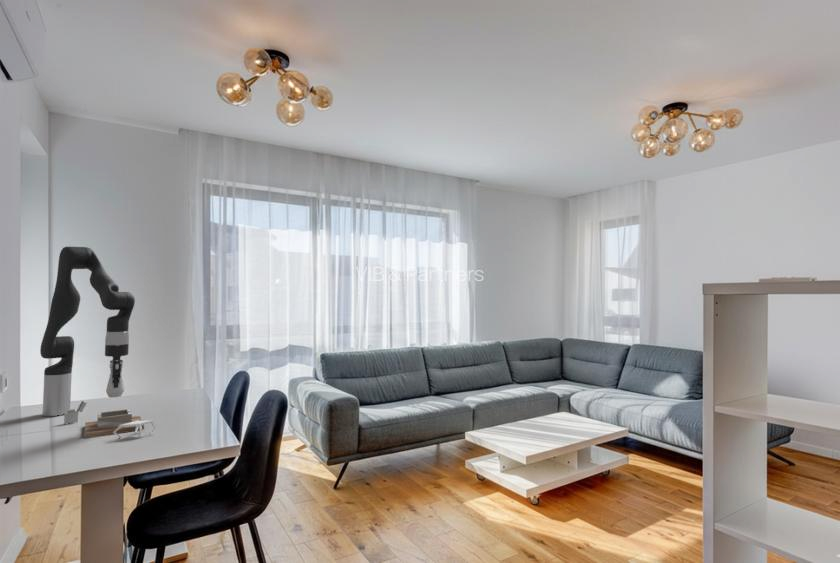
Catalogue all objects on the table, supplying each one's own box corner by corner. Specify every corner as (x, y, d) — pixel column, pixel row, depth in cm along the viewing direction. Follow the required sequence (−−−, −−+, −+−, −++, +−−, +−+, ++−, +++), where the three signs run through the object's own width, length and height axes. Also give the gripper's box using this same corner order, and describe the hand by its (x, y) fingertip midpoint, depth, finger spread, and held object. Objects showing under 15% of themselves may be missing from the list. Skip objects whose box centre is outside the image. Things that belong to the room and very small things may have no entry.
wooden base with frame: (84, 426, 172) (85, 412, 172) (139, 419, 182) (140, 405, 183) (84, 437, 157) (85, 422, 158) (144, 429, 168) (144, 414, 168)
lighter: (65, 424, 174) (66, 404, 175) (63, 423, 175) (64, 403, 176) (86, 420, 181) (87, 400, 181) (84, 419, 181) (85, 400, 182)
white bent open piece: (147, 430, 167) (147, 417, 167) (156, 434, 162) (156, 421, 162) (110, 438, 158) (110, 424, 158) (118, 442, 153) (119, 428, 153)
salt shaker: (109, 398, 166) (110, 363, 167) (103, 396, 170) (104, 362, 171) (126, 396, 171) (127, 362, 172) (120, 394, 175) (122, 361, 175)
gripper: (104, 342, 175) (103, 386, 174) (105, 345, 164) (103, 392, 163) (127, 341, 179) (125, 384, 178) (130, 344, 168) (128, 390, 167)
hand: (115, 388), depth 171 cm, fingers closed on salt shaker, 3 cm apart
